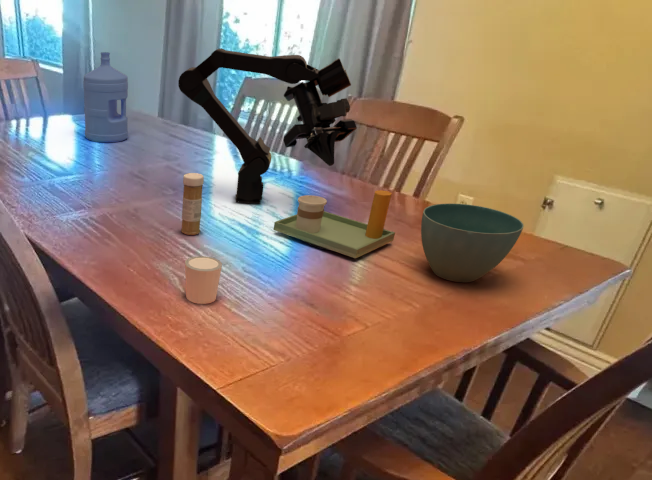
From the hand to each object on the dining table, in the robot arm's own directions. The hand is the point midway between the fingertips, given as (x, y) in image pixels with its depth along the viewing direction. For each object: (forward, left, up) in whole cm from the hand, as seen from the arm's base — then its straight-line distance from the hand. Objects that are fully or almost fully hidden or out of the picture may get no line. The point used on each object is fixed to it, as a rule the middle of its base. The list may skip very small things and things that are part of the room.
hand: (331, 164), depth 147 cm
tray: (+1, -14, -13) cm, 19 cm away
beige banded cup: (-5, -13, -12) cm, 18 cm away
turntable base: (+1, -14, -13) cm, 19 cm away
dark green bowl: (+24, -30, -14) cm, 41 cm away
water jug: (-68, +76, -14) cm, 103 cm away
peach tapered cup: (-28, -49, -14) cm, 58 cm away
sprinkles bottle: (-32, -15, -14) cm, 38 cm away
